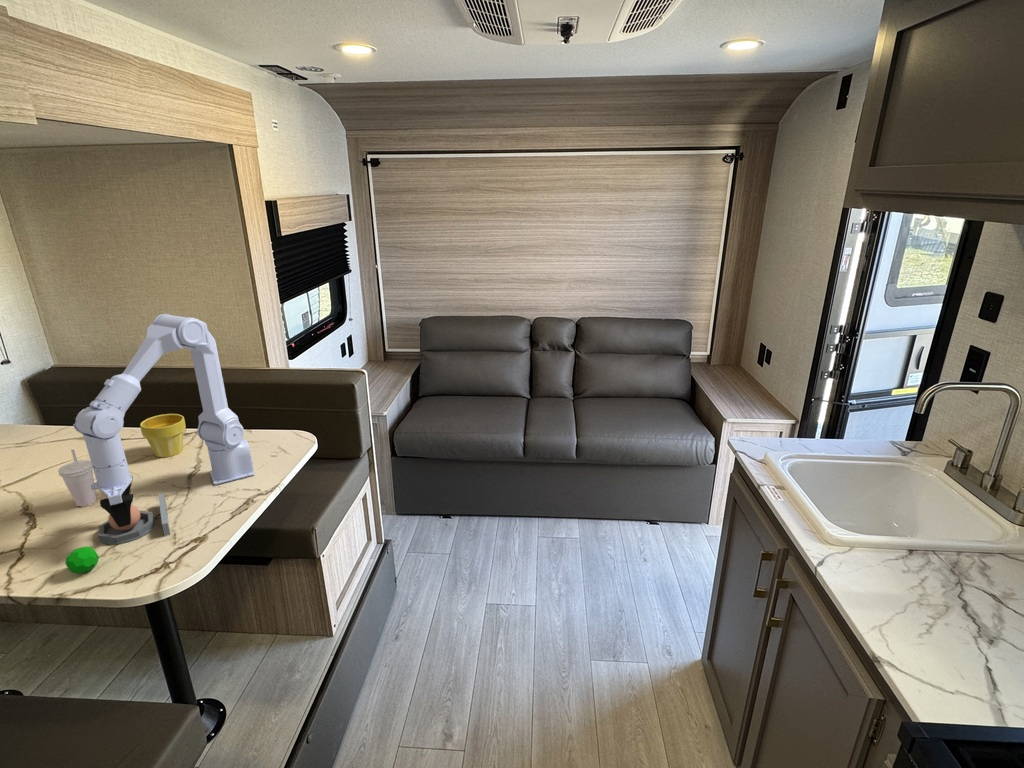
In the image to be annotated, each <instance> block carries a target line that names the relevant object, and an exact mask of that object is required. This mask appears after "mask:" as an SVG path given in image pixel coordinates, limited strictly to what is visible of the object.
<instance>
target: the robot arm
mask: <svg viewBox="0 0 1024 768" xmlns="http://www.w3.org/2000/svg"><path fill="white" fill-rule="evenodd" d="M216 342H217V341H216V339H215V338H214V336H213V335H212V334H211V332H210V331H209V329H208V324H207V323H206V322H204V321H203V320H200V319H197V318H196V317H186V316H178V315H172V314H169V313H162V314H159V315H157V316H156V317H155V318H154V320H153V321H152V324H150V325H149V326H148V327H147V328H146V336H145V338H144V340H143V341H142V343H141V344H140V346H139V347H138V348H137V350H136V352H135V353H134V355H133V357H132V358H131V360H130V362H129V363H128V365H127V366H126V367H125V369H124V370H123V372H122V373H121V374H116V375H113V376H112V377H111V378H110V379H109V378H108V379H107V378H106V380H105V382H104V383H103V385H104V387H103V388H102V390H100V392H99V394H98V395H97V396H96V397H95V398H94V400H92V401H91V402H90V403H89V406H88V407H86V408H82V410H81V411H79V412H78V413H77V414H76V415H77V416H76V417H75V422H74V423H73V424H72V426H73V429H74V430H75V431H76V432H77V433H80V434H82V437H83V439H84V442H85V446H86V449H87V453H88V455H89V459H90V460H89V461H91V463H92V467H93V475H94V476H95V480H96V482H94V483H92V484H91V490H95V491H96V490H98V491H100V492H101V493H102V494H103V495H105V496H106V497H107V498H103V499H100V500H99V505H100V508H101V509H103V510H105V511H106V512H107V513H108V514H109V515H111V516H112V518H113V519H114V521H115V523H116V524H117V525H118V527H123V526H126V525H130V524H131V511H130V510H131V505H133V504H132V503H133V502H134V497H135V495H134V493H131V487H132V483H133V481H134V477H133V474H131V473H130V467H129V464H128V461H127V458H126V452H125V450H124V446H123V443H122V439H121V435H120V431H122V429H123V427H124V423H125V421H124V417H125V415H126V412H127V410H128V409H129V408H130V406H131V405H132V404H133V402H134V401H135V400H136V398H137V397H138V395H139V394H140V392H142V387H141V381H142V380H143V378H145V376H146V375H147V374H148V372H149V371H150V370H151V369H152V368H153V366H154V365H155V364H156V363H157V362H158V361H159V359H161V357H162V356H163V355H164V354H166V353H170V352H173V351H178V350H182V349H183V348H184V349H186V350H188V351H189V352H190V354H191V358H192V363H193V369H194V372H195V377H196V382H197V386H198V392H199V397H200V402H201V407H202V411H201V413H200V414H199V415H198V418H197V419H198V426H197V435H198V437H199V439H200V440H202V441H203V442H205V443H204V444H205V445H206V446H207V447H206V448H207V451H208V457H209V461H210V462H209V463H210V467H211V470H210V471H209V473H210V477H211V480H212V484H213V485H215V486H216V485H220V484H224V483H229V482H232V481H236V480H240V479H243V478H248V477H253V476H254V475H255V472H254V463H253V461H254V460H253V458H252V453H251V450H250V445H249V443H248V439H247V438H244V435H245V430H244V427H243V425H242V424H241V423H240V421H239V420H240V419H239V417H238V415H237V414H236V413H235V412H233V411H232V409H230V408H229V406H228V398H227V395H226V394H227V393H226V388H225V384H224V383H225V382H224V377H223V375H222V374H223V373H222V367H221V363H220V358H219V352H218V348H217V343H216Z"/></svg>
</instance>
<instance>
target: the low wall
mask: <svg viewBox="0 0 1024 768" xmlns="http://www.w3.org/2000/svg"><path fill="white" fill-rule="evenodd" d="M158 501H159V509H160V510H159V511H160V519H161V520H160V521H161V525H162V531H163V533H164V536H165V537H166V536H170V535H171V531H170V530H171V529H170V523H169V522H170V521H169V515H168V507H167V502H166V499H165V493H159V494H158Z"/></svg>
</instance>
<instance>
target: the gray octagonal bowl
mask: <svg viewBox="0 0 1024 768" xmlns="http://www.w3.org/2000/svg"><path fill="white" fill-rule="evenodd" d="M139 511H140V520H139V522H138V523H137V525H136V526H134V527H133V528H131V529H129V530H125V531H120V530H116V529H114V528H113V527H112V526H111V525H110V524H109V519H108V520H107V521H105V522H104V523H102V524H101V525H99V527H98V528H99V529H98V540H99V542H100V543H102V544H104V545H108V546H109V545H111V546H112V545H113V546H114V545H121V544H126V543H130V542H132V541H136V540H138V539H140V538H143V537H144V536H146V535H147V534H149V533H150V532H151V531H152V530H153V529H154V528H155V526H156V525H157V520H156V518H155V516H154V514H153V512H151V511H146V510H139Z"/></svg>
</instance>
